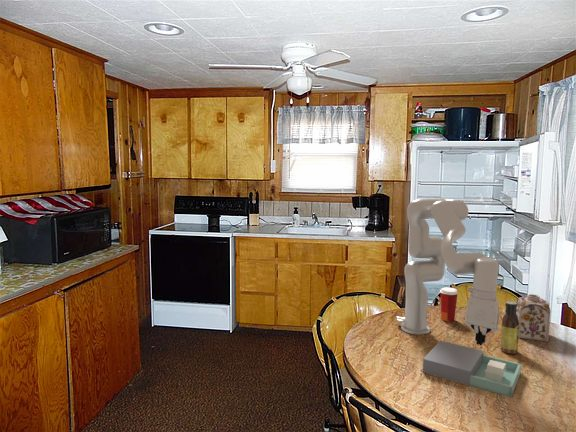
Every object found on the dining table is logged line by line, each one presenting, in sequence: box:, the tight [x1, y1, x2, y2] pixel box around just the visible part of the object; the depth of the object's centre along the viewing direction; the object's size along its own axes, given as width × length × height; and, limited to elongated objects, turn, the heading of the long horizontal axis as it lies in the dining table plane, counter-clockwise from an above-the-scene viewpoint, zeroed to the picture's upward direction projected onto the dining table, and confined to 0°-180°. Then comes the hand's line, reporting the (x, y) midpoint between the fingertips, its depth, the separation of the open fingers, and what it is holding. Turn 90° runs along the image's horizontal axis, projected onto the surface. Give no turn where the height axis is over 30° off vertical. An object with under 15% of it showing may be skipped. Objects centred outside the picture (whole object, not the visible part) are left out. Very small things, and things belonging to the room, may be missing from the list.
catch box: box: [469, 354, 522, 398], centre depth 147 cm, size 12×20×4 cm, turn 144°
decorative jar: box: [515, 293, 551, 343], centre depth 186 cm, size 12×12×18 cm
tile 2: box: [485, 370, 504, 382], centre depth 148 cm, size 5×5×2 cm
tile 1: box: [487, 360, 506, 376], centre depth 147 cm, size 5×5×2 cm
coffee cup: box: [439, 287, 459, 323], centre depth 205 cm, size 8×8×15 cm
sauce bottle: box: [500, 301, 520, 355], centre depth 169 cm, size 7×6×20 cm
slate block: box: [422, 340, 485, 387], centre depth 156 cm, size 16×20×5 cm
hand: (479, 343), depth 150 cm, fingers closed
